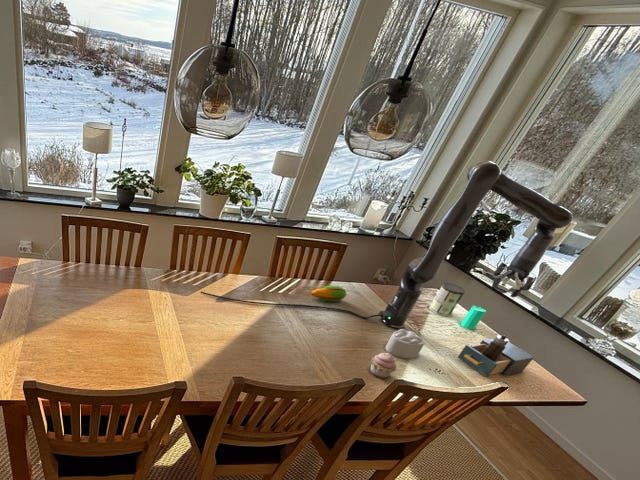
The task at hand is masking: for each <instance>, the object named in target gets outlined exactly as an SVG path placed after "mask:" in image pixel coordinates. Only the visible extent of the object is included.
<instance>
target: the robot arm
mask: <svg viewBox="0 0 640 480" xmlns="http://www.w3.org/2000/svg"><path fill="white" fill-rule="evenodd" d="M466 179H467V184H466V185H465V187H464V188H463V191H462V193H461V194H460V195H459V197H458V198H457V200H455V202H454V203H453V204H452V205H451V206H450V207H449V208H448V209H447V210H446V211H445V212H444V213H443V215H442V216H441V218H440V220H439V221H438V223H437V224H436V226H435V228H434V230H433V232H432V235H431V239H430V243H429V246H428V249H427V252H426V254H425V255H424V256H423V257H417V258H415V259H413V260H412V261H411V262H409V264H408V265H407V267H406V268H405V270H404V272H403V275H402V276H401V279H400V281H399V286H398V289H397V290H396V292H395V294H394V296H393V298H392V300H391V301H390V302H388V303H387V305H386V308H385V309H383V310H382V309H381V310H379V312H378V314H371V315H369V316H363V315H360V314H358V313H356V312H354V311H351V310H347V309H343V308H336V307H330V306H329V307H328V306H323V305H321V306H320V305H310V304H291V303H276V302H275V303H273V302H260V301H251V300H244V299H243V300H242V299H237V298H231V297H225V296H221V295H216V294H212V293H210V292H209V293H208V292H205V291H200V294H202V293H203V295H206V296H210V297H214V298H219V299H224V300H229V301H234V302H239V303H247V304H258V305H267V306H268V305H269V306H286V307H303V308H305V307H306V308H317V309H325V310H326V309H327V310H334V311H341V312H345V313H350V314H352V315H354V316H356V317H358V318H361V319H365V320H368V319H371V318H374V317H379V318H380V321H382V322H383V324H384V325H385V326H387V327H390V328H393V329H403V328H404V325H405V323H406V321H407V319H408V318H409V316H410V314H411V312H412V310H413V309H414V307H415V305H416V304H417V302H418V301H419V298H420V297H421V295H422V293H423V285H424V284H427V283H429V282H431V281H432V280H433V279H434V278H435V277H436V276H437V274H438V272H439V269H440V267H441V265H442V263H443V261H444V260H445V258H446V256H447V255H448V254H449V252H450V250H451V249H452V247H453V246H454V244H455V242H456V241H457V240H458V238H459V237H460V235H461V234H462V232H463V231H464V229H465V228H466V226H467V225H468V223H469V221H470V220H471V218H472V216H473V215H474V213H475V212H476V210H477V209H478V207H479V205H480V204H481V202H482V200H483V199H484V198H485V197H486V195H487V194H488V193H489V192H490V191H491V192H493V193H495V194H496V195H498V196H500V197H502V198H503V199H504V200H506V201H507V202H509V203H510V204H511V205H513V206H515V207H516V208H517V209H519V210H520V211H522V212H524V213H526V214H529V215H530V216H533V217H534V218H535V219H538V220H537V221H536V223H535V226H534V228H533V231H532V233H531V234H530V236H529V237H528V238H527V240H526V241H525V243H524V244H523V245H522V246H521V247H520V248H519V250H518V252H517V253H516V254H515V256H514V257H513V259H512V260H511V261H510V264H508V262H500V264H499V266H498V267H497V268H496V269H495V270H494V272H493V273H492V275H493V276H494V277H495V279H494V281H493V282H492V284H491V285H492V286H491V287H493V288H497V287H498V286H499V285H500V283H501V282H502V281H503V279H505V278H508V279H511V280H512V281H513V282H515V285H516V288H515V289H514V290H513V291H512V292H511V294H510V298H517V297H518V296H519V295H520V294H521V292H522V291H528V292H529V291H530V289H531V288H532V286H533V285H534V284H535V282H536V280H537V277H536V276H532V275H530V273H532V271H533V270H534V269H535V267H536V266H537V265H538V263H539V262H540V260H541V259H542V258H543V257H544V255H545V253H546V251H547V250H548V249H549V247H550V246H551V244H552V243H553V241H554V240H555V232H556V230H557V229H563V228H565V227H568V226H570V224H571V223H572V221H573V213H572V212H571V211H569V209H566V208H565V207H563V206H560V205H558V204H556V203H555V202H552V201H551V200H550V199H548V198H547V197H546V196H544V195H542V194H541V193H539V192H537V191H536V190H533V189H532V188H530V187H528V186H525V185H524V184H522V183H519V182H517V181H516V180H514V179H512V178H510V177H509V176H507V175H506V174H505V173H503V172H502V171H501V168H500V166H499V165H498V164H496V163H495V162H493V161H491V160H478V161H476V162H474V163H473V164H471V165H470V166H469V168H468V169H467V171H466ZM505 269H506V271H505V272H503V271H504V270H505ZM525 279H526V280H525Z"/></svg>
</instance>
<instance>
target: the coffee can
mask: <svg viewBox="0 0 640 480" xmlns="http://www.w3.org/2000/svg"><path fill="white" fill-rule="evenodd" d="M465 293H466V290H465V289H464V288H462V287H461V286H459V285H456V284H453V283H450V282H449V283H448V282H444V283H442V284H441V287H440V288H439V290H438V292H437V294H436V295H435V297H434V298H433V301H432V302H431V304H430V306H429V307H428V308H429V310H430V311H432V312H434V313H435V314H437V315H438V316H439V315H440V316H442V317H443V316H444V317H450V316H451V315H452V313H453V311H455V308H456V307H457V305H458V304H459V302H460V301H461V299H462V297H463V295H464V294H465Z"/></svg>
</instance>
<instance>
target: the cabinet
mask: <svg viewBox="0 0 640 480" xmlns="http://www.w3.org/2000/svg"><path fill="white" fill-rule="evenodd" d="M494 339H495V337H494V338H488V339H482V340H481V341H480V342H479V344H484V343H485V344H486V345H489V344H490V342H491V341H492V340H494ZM501 354H502V355H504V356H505V357H507V358H509V359H510V360H512V361H511V363H510V364H509V365H508V366H507V368H506V369H505V370H504V371H503V372H501V373H498V374H499V375H500V376H502V377H505V376H511V375H516V374H521V373H523V372H524V370H525V369H526V368H527V367H528V366H529V364H530V363H531V362H532V361H533V360H534V359H535V357H534V356H533V355H531V354H530V353H527V352H526V351H525V350H523V349H521V348H520V347H517V346H516V345H515V344H512V343H511V342H510V341H509V342H508V343H507V344H506V348H505V349H504V350H503V352H502V353H501Z"/></svg>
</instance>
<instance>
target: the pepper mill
mask: <svg viewBox="0 0 640 480" xmlns="http://www.w3.org/2000/svg"><path fill="white" fill-rule="evenodd" d="M494 338H495V339H494ZM494 338H493V339H494V340H492V341H491V342H490V344H489V345H488V346H487V348H486V349H485V350H484V352H483V353H482V354H483V355H484V356H486V357H487V358H489V359H490V360H492V361H493V362H495V361H496V359H497V358H498V357H499V355H500V354H501V353H502V352H503V350H504V349H505V348H506V344H507V343H508V342H509V343H510V339H509V338H507V335H504V334H503V335H499V334H497V335H496V336H495V337H494Z"/></svg>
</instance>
